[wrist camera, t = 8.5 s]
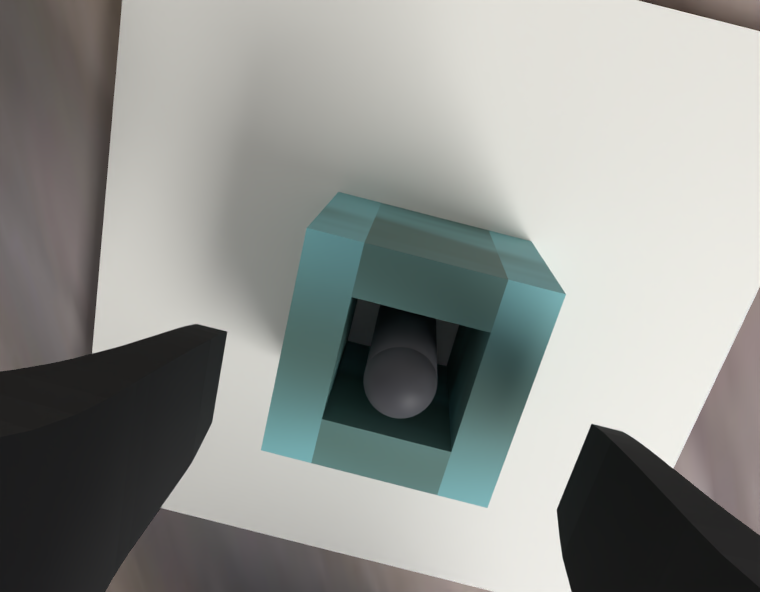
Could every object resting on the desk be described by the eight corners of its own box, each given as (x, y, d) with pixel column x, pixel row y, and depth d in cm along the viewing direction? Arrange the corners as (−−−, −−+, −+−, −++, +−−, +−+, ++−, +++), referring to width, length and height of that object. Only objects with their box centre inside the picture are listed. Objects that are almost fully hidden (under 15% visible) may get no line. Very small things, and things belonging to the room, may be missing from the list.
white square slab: (594, 595, 21) (656, 789, 16) (95, 470, 21) (-34, 617, 15) (841, 60, 15) (1097, 43, 10) (151, -115, 15) (-24, -242, 9)
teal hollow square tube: (474, 410, 18) (487, 508, 14) (300, 366, 18) (260, 450, 14) (531, 241, 17) (565, 294, 12) (338, 191, 17) (306, 228, 12)
